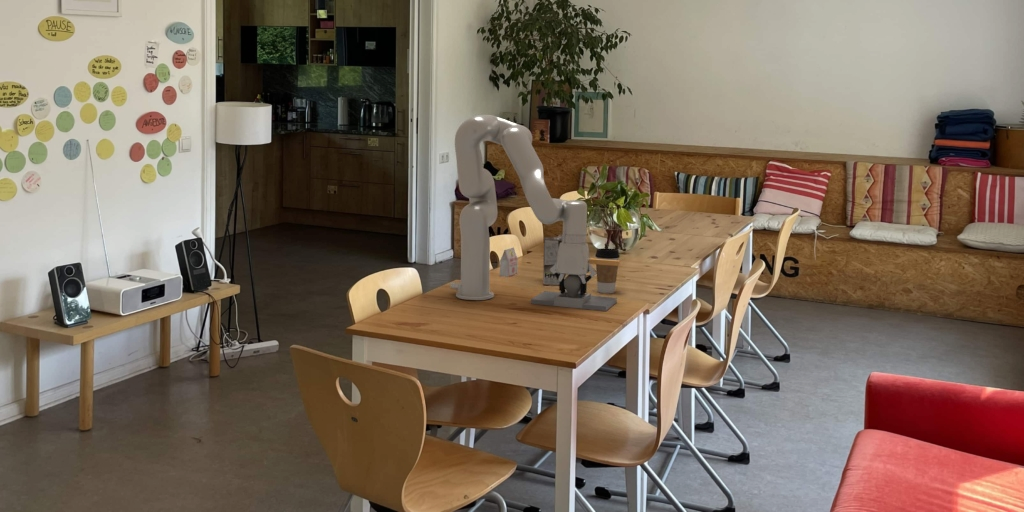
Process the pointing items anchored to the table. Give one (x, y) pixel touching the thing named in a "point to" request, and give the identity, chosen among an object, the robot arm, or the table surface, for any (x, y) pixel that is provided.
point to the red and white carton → (508, 263)
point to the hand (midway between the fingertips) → (572, 293)
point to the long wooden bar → (604, 262)
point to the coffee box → (550, 259)
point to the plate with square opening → (574, 300)
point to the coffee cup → (606, 270)
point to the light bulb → (572, 285)
